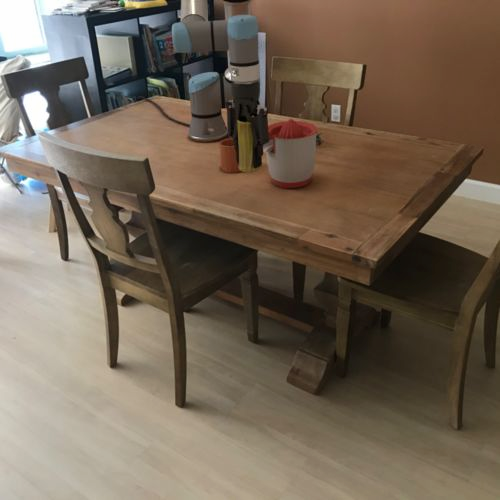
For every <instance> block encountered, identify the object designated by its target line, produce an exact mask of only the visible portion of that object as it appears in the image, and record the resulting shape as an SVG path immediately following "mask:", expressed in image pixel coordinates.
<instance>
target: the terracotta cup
mask: <svg viewBox="0 0 500 500" xmlns="http://www.w3.org/2000/svg"><path fill="white" fill-rule="evenodd" d="M219 154H220V167H221V170H222V172H225V173H229V174H231V173H233V174H234V173H240V172H241V171H240V170H239V163H237V160H236V150H235V149H234V140H233V138H232V137H229V138H224V139H221V140H220V142H219Z"/></svg>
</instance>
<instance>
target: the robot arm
mask: <svg viewBox="0 0 500 500" xmlns="http://www.w3.org/2000/svg"><path fill="white" fill-rule="evenodd" d="M220 1H221V2H223V4H224V17H225V19H220V20H209V14H208V13H209V12H208V0H180V21H179V22H174V23H172V26H171V39H172V46H173V49H174V52H176V53H178V54H192V53H205V52H206V53H207V52H224V51H225V52H227V67H228V68H226V70H225V71H224V75H223V76H220V74H219V73H218V72H217V71H207V72H203V73H199V74H196V75H193V76H192V77H191V78H189V80H188V94H189V103H190V104H189V105H190V114H191V115H190V116H191V119H190V124H189V123H186V122H183V121H179V120H178V119H174V118H172V117H171V116H169V115H168V114H167V113H166V112H164V111H163V109H162V108H161V107H160V106H159V105H158V104H157V103H156V102H155V101H153V100H151V99H149V98H147V97H144V96H141V95H139V96H138V97H136V100H140V99H143V100H144V101H147V102H149V103H151V104H153V105H154V106H155V107H156V108H157V109H158V110H159V112H160V113H161V114H162V115H163V116H164V117H165V118H167V119H169V120H171V121H172V122H174V123H177V124H180V125H183V126H187V127H189V129H188V138H189V139H190V140H191V141H194V142H197V143H213V142H217V141H218V142H219V141H222V140H224V139H226V138H227V137H229V138H233V140H234V149H235V150H236V160H237V163H239V143H238V127H237V120H238V119H239V120H238V121H240V122H243V121H244V120H245V117H247V121H248V122H251V131H252V135H253V138H254V142H255V145H253V163H254V168H258V167H260V168H261V167H262V166H263V156H264V152H263V145H264V144H266V143H268V142H269V132H268V126H269V119H268V115H269V110H270V109H269V107H268V106H263V105H261V102H260V96H261V75H260V60H259V26H258V25H259V24H258V18H257V17H256V16H255V15H251V14H252V13H251V2H252V1H253V0H220ZM223 109H224V110H225V109H226V123H227V124H226V123H225V120H224V117H223V114H222V110H223ZM226 125H227V126H226Z"/></svg>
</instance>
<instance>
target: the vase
mask: <svg viewBox="0 0 500 500" xmlns="http://www.w3.org/2000/svg"><path fill="white" fill-rule="evenodd" d="M238 120H239V119H238ZM238 120H237V127H238V143H239V170H240V172H243V173H255V172H257V171H258V170H260V169H261V166H260V167H258V168H254V163H253V145H255V142H254V138H253V135H252V131H251V122H248V121H247V117H245V120H244V121H243V122H240V121H238Z"/></svg>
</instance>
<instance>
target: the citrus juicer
mask: <svg viewBox="0 0 500 500" xmlns="http://www.w3.org/2000/svg"><path fill="white" fill-rule="evenodd" d="M268 132H269V142H268V143H266V144H264V145H263V154H266V164H267V169H268V173H269V176H270V178H271V181H272V183H273V184H274V185H276V186H277V187H280V188H284V189H296V188H301V187H304V186H306V185H308V184H309V183H310V181H311V179H312V176H313V173H314V169H315V165H316V157H317V143H316V132H317V133H318V128H317V126H316V125H314V124H313V123H310V122H306V121H301V120H294V119H292V118H290V119H288V120H285V121H279V122H275V123H272V124H268Z"/></svg>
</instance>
